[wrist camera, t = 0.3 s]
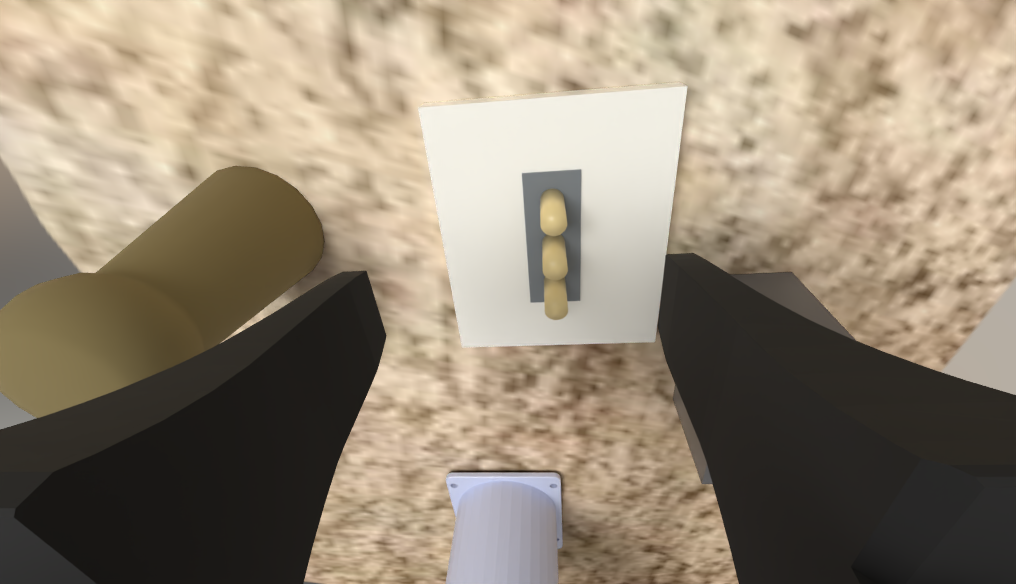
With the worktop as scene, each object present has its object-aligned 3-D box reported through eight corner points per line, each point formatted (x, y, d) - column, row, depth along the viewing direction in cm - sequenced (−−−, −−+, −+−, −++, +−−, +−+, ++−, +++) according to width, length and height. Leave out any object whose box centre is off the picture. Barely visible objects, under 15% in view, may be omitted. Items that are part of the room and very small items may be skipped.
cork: (323, 183, 20) (139, 338, 11) (324, 291, 23) (185, 481, 14) (186, 151, 19) (-130, 285, 10) (207, 266, 23) (-17, 445, 14)
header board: (650, 330, 23) (666, 376, 20) (464, 335, 24) (454, 381, 21) (680, 81, 17) (709, 98, 14) (423, 102, 18) (401, 122, 15)
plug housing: (752, 397, 26) (801, 488, 21) (672, 398, 26) (703, 487, 21) (791, 272, 21) (866, 351, 16) (693, 275, 21) (738, 354, 17)
